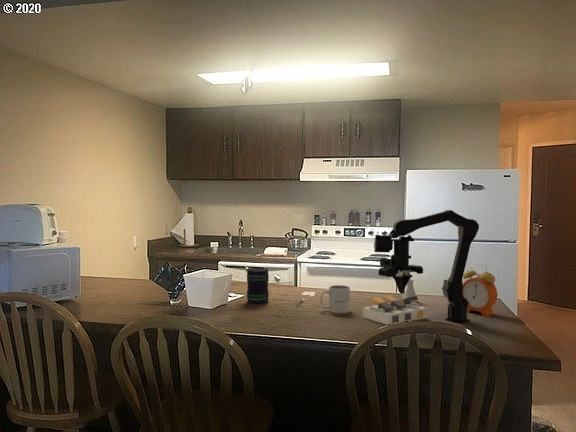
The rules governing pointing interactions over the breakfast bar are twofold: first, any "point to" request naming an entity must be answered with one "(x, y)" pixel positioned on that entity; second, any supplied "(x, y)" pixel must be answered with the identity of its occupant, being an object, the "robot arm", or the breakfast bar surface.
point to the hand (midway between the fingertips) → (400, 292)
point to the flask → (410, 291)
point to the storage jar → (257, 286)
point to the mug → (338, 299)
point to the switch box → (395, 313)
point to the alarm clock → (480, 292)
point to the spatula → (304, 299)
